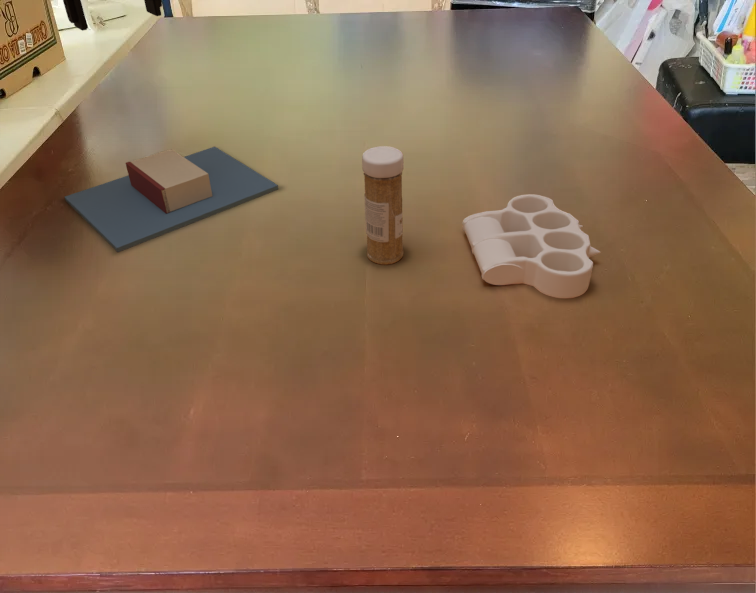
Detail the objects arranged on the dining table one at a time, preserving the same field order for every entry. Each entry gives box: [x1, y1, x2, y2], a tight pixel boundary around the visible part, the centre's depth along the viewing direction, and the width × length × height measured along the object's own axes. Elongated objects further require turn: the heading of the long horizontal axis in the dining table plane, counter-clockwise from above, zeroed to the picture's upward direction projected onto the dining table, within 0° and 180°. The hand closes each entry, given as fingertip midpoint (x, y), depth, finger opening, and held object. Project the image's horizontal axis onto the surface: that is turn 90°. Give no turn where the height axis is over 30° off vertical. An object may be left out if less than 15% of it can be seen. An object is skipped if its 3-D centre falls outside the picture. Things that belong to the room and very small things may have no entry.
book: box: [124, 148, 212, 214], centre depth 92 cm, size 11×7×4 cm, turn 41°
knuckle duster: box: [461, 193, 603, 299], centre depth 78 cm, size 3×18×15 cm
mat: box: [64, 146, 279, 253], centre depth 93 cm, size 24×18×1 cm
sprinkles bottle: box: [361, 145, 405, 266], centre depth 76 cm, size 5×5×14 cm
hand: (118, 20), depth 84 cm, fingers open, 9 cm apart
